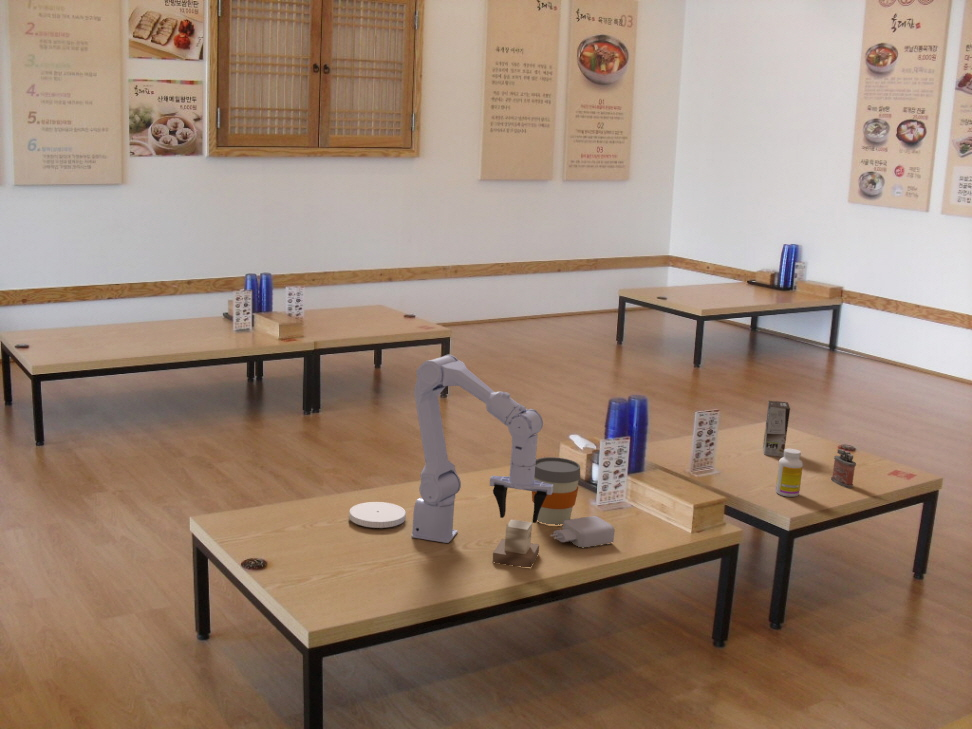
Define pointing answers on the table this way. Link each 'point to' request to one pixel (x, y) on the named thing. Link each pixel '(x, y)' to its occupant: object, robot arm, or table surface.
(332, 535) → the table surface
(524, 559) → the walnut slab
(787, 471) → the supplement bottle
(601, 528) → the charger
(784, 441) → the coffee box
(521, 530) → the maple block
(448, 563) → the table surface
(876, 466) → the table surface
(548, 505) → the reusable coffee cup
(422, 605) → the table surface
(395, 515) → the plastic lid
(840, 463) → the lighter
